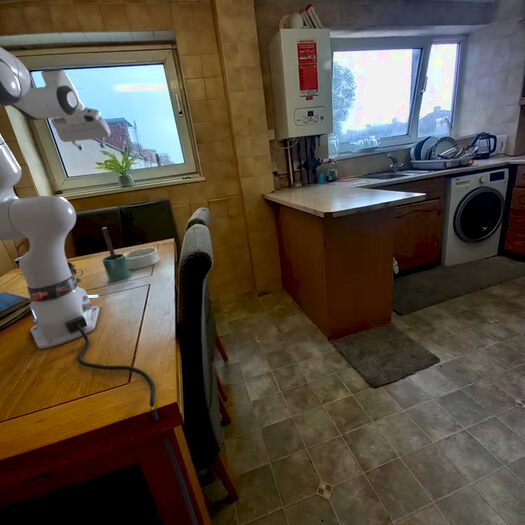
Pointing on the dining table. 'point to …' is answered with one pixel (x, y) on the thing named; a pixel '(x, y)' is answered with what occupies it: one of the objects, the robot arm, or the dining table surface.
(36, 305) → the robot arm
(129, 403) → the dining table surface
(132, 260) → the bowl
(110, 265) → the utensil pot
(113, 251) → the stirring stick
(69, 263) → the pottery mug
